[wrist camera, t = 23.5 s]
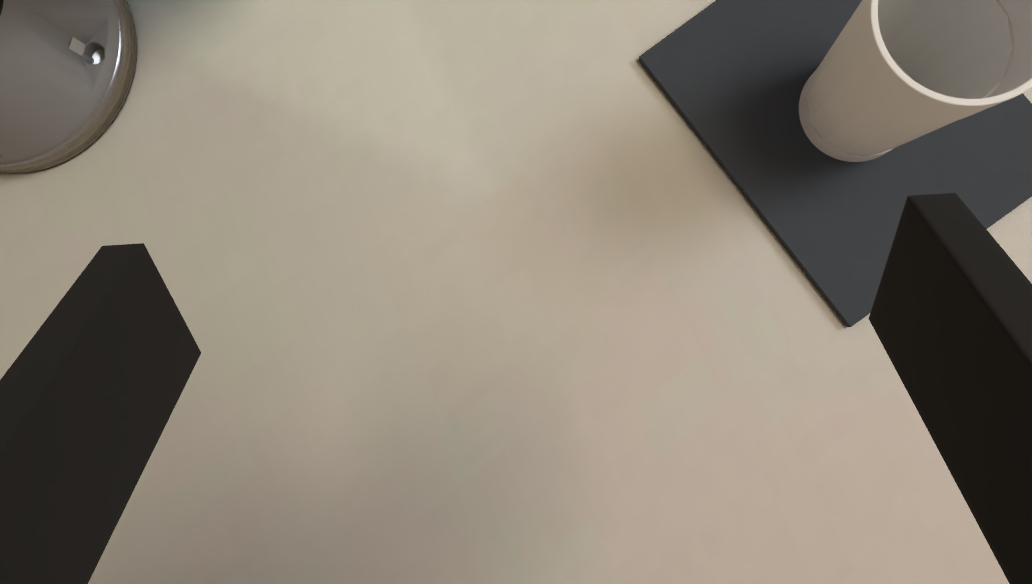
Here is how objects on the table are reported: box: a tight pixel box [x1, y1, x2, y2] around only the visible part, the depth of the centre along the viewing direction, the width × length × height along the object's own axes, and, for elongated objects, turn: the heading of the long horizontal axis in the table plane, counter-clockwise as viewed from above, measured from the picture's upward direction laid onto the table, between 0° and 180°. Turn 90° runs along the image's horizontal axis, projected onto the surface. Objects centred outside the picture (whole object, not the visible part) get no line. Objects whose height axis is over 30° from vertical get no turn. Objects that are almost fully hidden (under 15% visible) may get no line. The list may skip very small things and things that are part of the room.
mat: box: [639, 0, 1032, 327], centre depth 42 cm, size 20×16×1 cm
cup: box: [799, 0, 1032, 162], centre depth 36 cm, size 8×8×12 cm
